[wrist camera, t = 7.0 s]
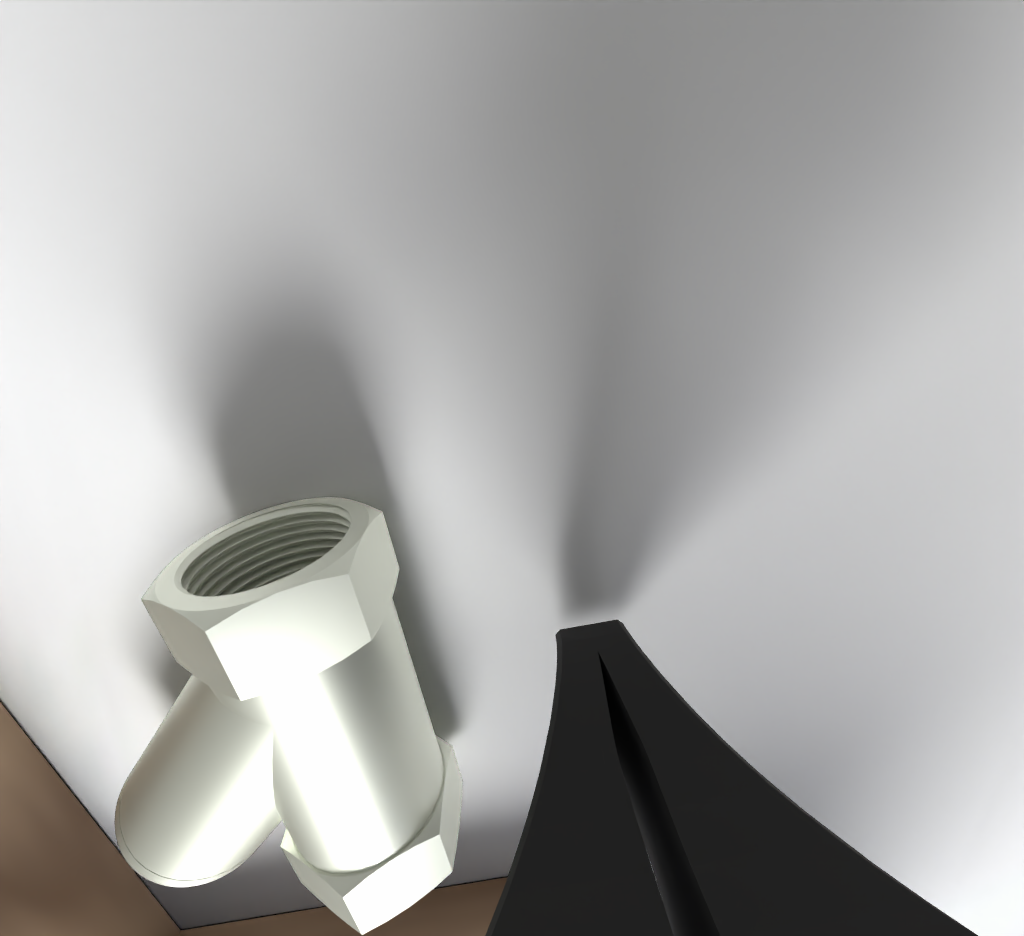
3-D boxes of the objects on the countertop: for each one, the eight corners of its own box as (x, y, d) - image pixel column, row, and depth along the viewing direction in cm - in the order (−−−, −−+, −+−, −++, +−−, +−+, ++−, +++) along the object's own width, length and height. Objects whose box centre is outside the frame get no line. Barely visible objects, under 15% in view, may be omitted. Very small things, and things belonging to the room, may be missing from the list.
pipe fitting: (231, 770, 14) (467, 749, 13) (128, 952, 10) (447, 934, 10) (89, 523, 11) (392, 482, 10) (-132, 661, 7) (320, 609, 6)
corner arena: (544, 893, 16) (564, 1087, 12) (160, 956, 16) (63, 1166, 12) (437, 442, 10) (411, 554, 6) (-186, 550, 10) (-592, 726, 6)
